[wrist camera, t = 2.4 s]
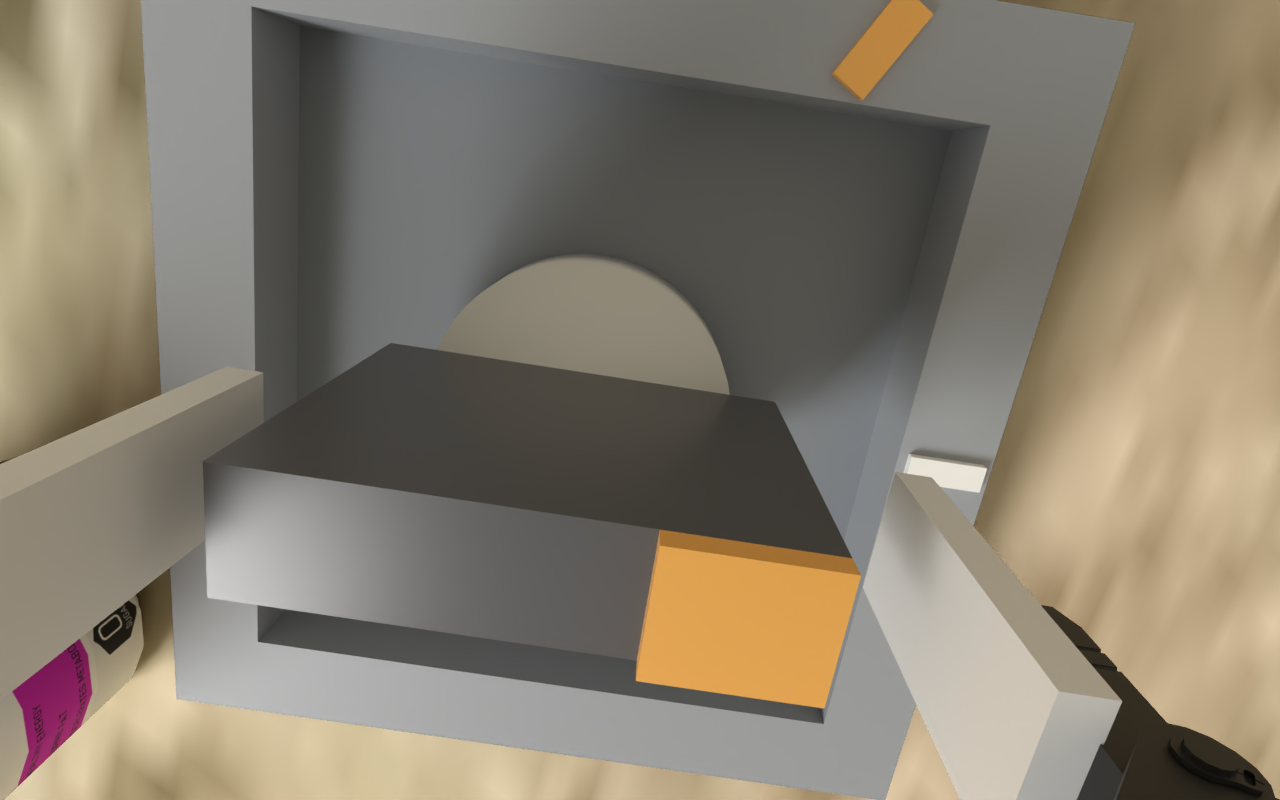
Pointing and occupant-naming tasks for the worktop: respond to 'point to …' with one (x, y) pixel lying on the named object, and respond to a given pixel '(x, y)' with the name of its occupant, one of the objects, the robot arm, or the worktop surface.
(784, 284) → the dial panel
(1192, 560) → the worktop surface
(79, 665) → the supplement can
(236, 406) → the robot arm
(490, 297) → the dial
